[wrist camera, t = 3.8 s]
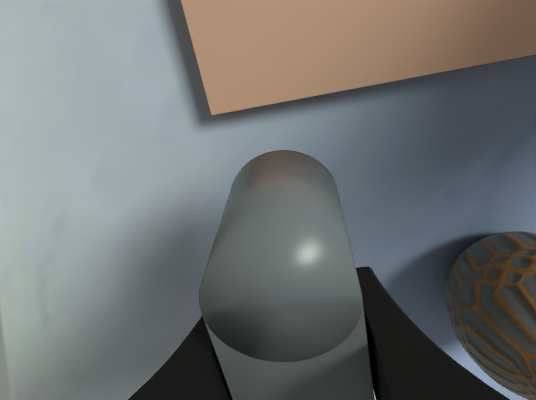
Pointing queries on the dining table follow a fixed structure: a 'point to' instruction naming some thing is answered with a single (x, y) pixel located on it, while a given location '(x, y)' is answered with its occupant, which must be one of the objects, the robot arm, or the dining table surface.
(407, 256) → the dining table surface
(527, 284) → the vase
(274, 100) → the mat
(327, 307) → the plug
